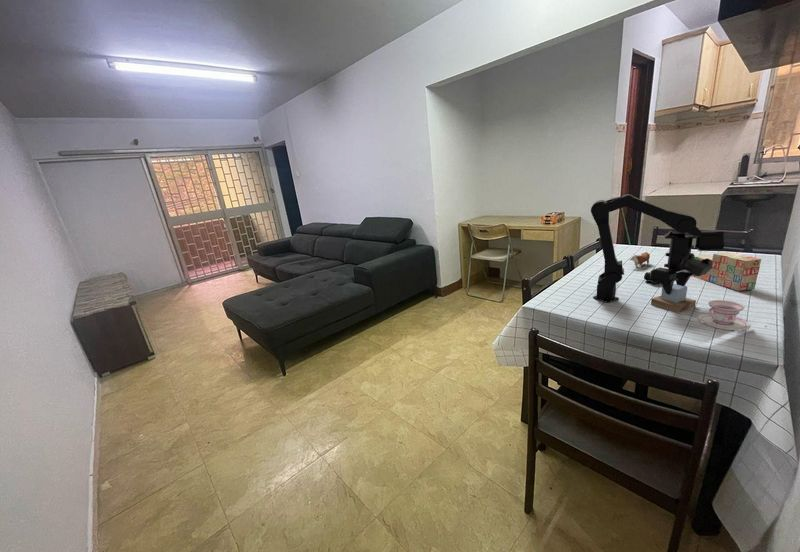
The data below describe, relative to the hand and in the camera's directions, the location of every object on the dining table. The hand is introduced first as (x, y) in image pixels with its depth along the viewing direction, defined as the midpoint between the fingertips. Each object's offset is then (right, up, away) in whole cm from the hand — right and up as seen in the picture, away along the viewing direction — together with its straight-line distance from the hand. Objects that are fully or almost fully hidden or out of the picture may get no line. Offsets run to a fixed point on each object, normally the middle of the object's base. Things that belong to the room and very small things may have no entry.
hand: (674, 292), depth 114 cm
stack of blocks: (+34, +3, +17) cm, 38 cm away
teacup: (+4, -9, -13) cm, 17 cm away
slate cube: (0, -3, +1) cm, 3 cm away
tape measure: (+10, +2, +21) cm, 23 cm away
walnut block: (+1, -5, +2) cm, 6 cm away
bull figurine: (+21, +10, +43) cm, 49 cm away
